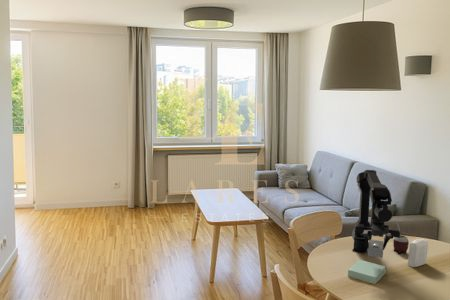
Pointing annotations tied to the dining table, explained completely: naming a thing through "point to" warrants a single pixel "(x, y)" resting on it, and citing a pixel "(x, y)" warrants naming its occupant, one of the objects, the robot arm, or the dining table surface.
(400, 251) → the mate gourd
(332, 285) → the dining table surface
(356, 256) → the dining table surface
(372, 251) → the graphite housing
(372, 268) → the sage stand
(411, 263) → the photo printer
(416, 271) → the dining table surface
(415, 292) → the dining table surface
